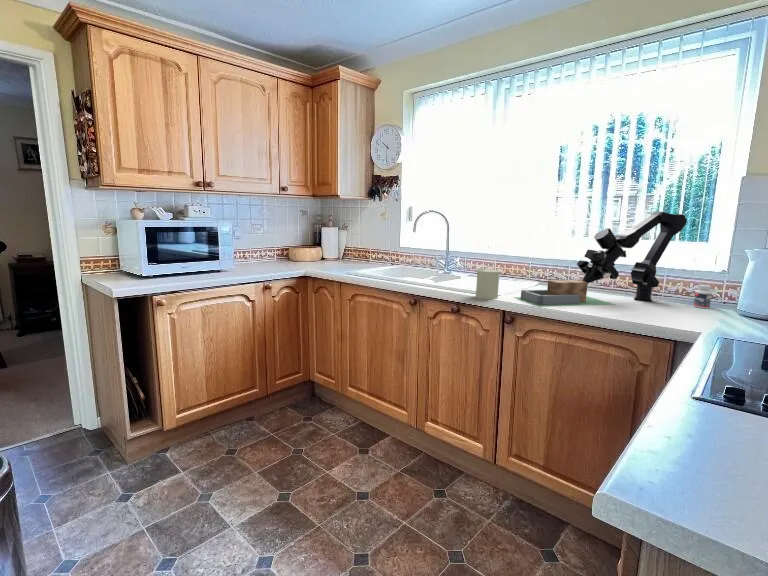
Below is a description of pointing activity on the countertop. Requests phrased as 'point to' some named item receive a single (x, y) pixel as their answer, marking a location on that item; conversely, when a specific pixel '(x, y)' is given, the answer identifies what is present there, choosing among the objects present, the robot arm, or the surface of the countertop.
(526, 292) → the grey tray
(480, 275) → the can
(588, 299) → the mat
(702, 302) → the pill bottle
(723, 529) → the countertop surface
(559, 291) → the walnut block
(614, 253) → the robot arm
